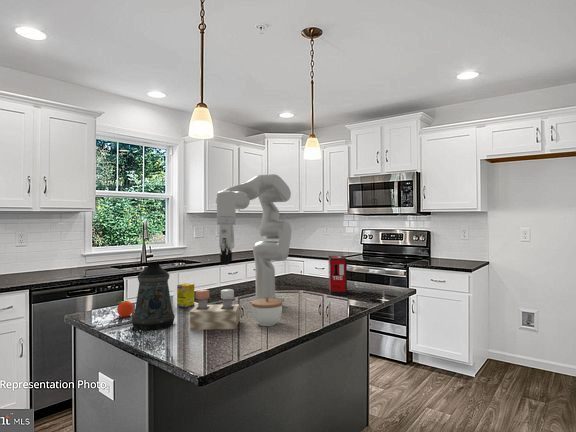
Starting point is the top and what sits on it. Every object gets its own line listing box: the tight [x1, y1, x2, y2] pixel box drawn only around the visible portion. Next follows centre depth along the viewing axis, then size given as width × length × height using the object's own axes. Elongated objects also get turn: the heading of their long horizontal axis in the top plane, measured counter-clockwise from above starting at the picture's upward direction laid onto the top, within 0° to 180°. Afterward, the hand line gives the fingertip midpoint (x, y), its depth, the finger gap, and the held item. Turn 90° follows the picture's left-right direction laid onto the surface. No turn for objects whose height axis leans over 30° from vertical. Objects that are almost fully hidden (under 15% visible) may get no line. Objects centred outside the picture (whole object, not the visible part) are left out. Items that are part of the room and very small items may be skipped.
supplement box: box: [176, 282, 195, 309], centre depth 195 cm, size 6×6×11 cm
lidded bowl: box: [251, 297, 283, 327], centre depth 163 cm, size 13×13×11 cm
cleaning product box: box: [328, 255, 348, 296], centre depth 228 cm, size 16×9×20 cm, turn 178°
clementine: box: [116, 300, 135, 318], centre depth 177 cm, size 8×7×7 cm
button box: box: [189, 303, 240, 331], centre depth 162 cm, size 18×12×7 cm, turn 91°
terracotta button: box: [195, 289, 210, 310], centre depth 162 cm, size 5×5×9 cm
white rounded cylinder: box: [220, 288, 235, 309], centre depth 162 cm, size 5×5×9 cm
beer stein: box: [131, 262, 175, 332], centre depth 163 cm, size 16×19×25 cm
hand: (226, 263), depth 162 cm, fingers open, 9 cm apart
